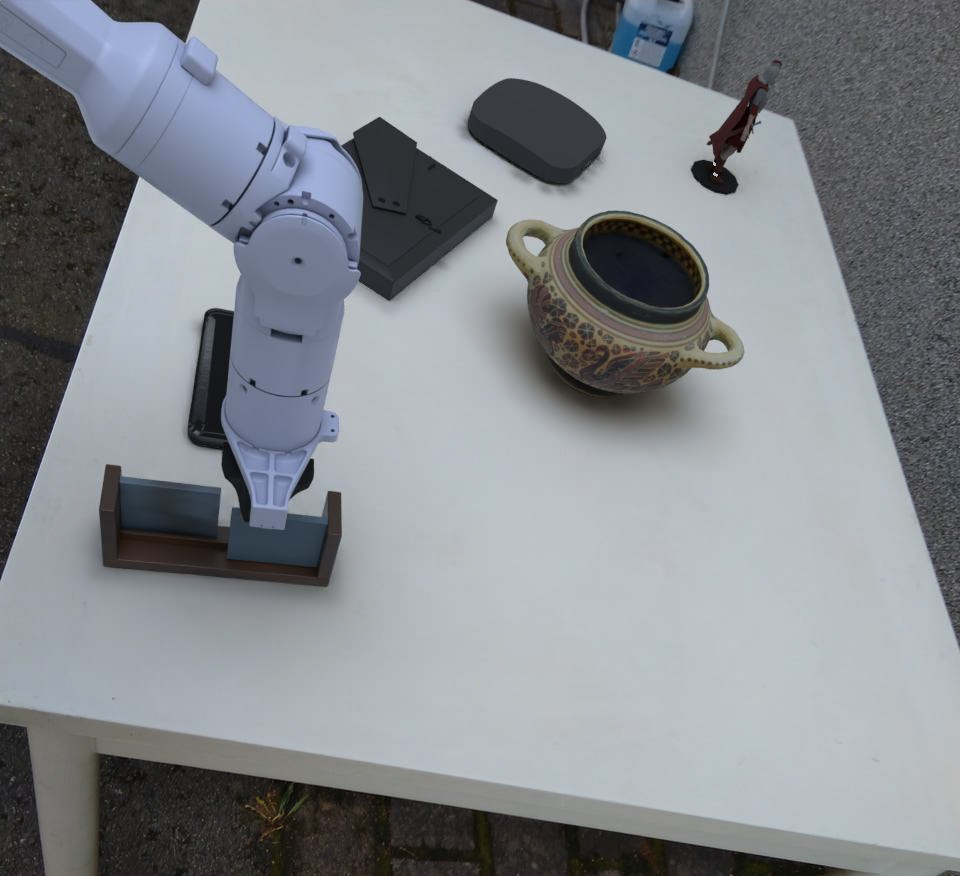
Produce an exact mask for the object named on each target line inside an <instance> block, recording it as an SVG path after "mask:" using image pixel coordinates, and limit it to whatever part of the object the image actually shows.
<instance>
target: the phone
mask: <svg viewBox="0 0 960 876" xmlns="http://www.w3.org/2000/svg"><path fill="white" fill-rule="evenodd" d="M233 318H234V310H230V309H226V308H220V307H219V308H218V307H212V308H209V309H207V310H206V311H205V312H204V314H203V320H202V326H201V327H202V328H201V335H200V340H199V347H198V352H197V353H198V355H197V360H196V368H195V373H194V381H193V387H192V392H191V393H192V394H191V401H190V407H189V414H188V421H187V437H188V438H189V440H190V442H192V443H193V444H195V445H196V446H197V445H198V446H200V447H201V446H202V447H208V448H215V449H221V450H223V442H229V441H228V439H227V437H226V434H225V432H224V429H223V426H222V422H221V410H222V404H223V401H224V399H225V397H226V394H227V383H228V372H229V360H230V351H231V340H232V329H233Z"/></svg>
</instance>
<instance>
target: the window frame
mask: <svg viewBox="0 0 960 876" xmlns="http://www.w3.org/2000/svg"><path fill="white" fill-rule="evenodd" d="M122 471H123V470H122V466H121V465H117V464H108V463H106V464H105V466H104V475H103V479H102V486H101V493H100V499H99V506H98V516H99V517H98V519H99V530H100V543H101V554H102V555H101V557H102V566H103V567H106V568H107V567H108V568H118V569H119V568H120V569H128V570H129V569H130V570H138V571H139V570H142V571H150V572H151V571H152V572H164V573H173V574H185V575H197V576H208V577H216V578H217V577H218V578H229V579H238V580H239V579H240V580H249V581H250V580H252V581H262V582H274V583H284V584H285V583H286V584H296V585H307V586H316V587H317V586H318V587H319V586H320V587H328V586H329V584H330V580H331V577H332V574H333V569H334V567H335V562H336V559H337V555H338V551H339V548H340V544H341V540H342V536H343V520H342V518H343V517H342V516H343V514H342V513H343V512H342V492H341V491H334V490H327V493H326V496H325V501H324V505H323V509H322V513H321V517H326V518H328V525H327V529H326V533H325V537H324V541H323V545H322V549H321V553H320V557H319V561H318V565H317V567H307V566H296V565H286V564H275V563H265V562H254V561H244V560H234V559H227V548H228V539H229V529H230V526H225V525H224V526H223V525H219V517H220V506H221V505H220V504H221V493H222V488H221V487H219V486H218V487H217V486H211V485H210V486H209V485H201V484H192V483H184V482H175V481H167V480H159V479H151V478H150V479H149V478H143V477H142V478H141V477H133V476H132V477H131V476H123V474H122V473H123V472H122Z"/></svg>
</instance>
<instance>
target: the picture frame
mask: <svg viewBox="0 0 960 876" xmlns="http://www.w3.org/2000/svg"><path fill="white" fill-rule="evenodd" d="M352 136H353V138H351V139H350V140H348V141H346V142H344V143H343V144H340V145H341V147H342V148H343V149H344V150H345V151H346V152H347V153H348V154H349V155H350V156H351V158H352V159H353V161H354V162H355V164H356V166H357V168H358V170H359V173H360V176H361V181H362V190H363V212H362V227H361V241H360V256H359V264H358V268H357V270H359V271H360V273H361V275H360V278H359V281H358V282H360V283H362V284H364V285H365V286H366V287H368V288H370V289H371V290H373V291H374V292H376V293H377V294H378V295H380V296H381V297H383V298H385V299H386V300H387V301H391V300H392V299H393V298H394V297H396V296H397V295H398V294H399V293H400V292H402V291H403V290H404V289H405V288H407V287H408V286H410V284H412V283H413V282H414V281H415V280H417V278H420V276H421V275H423V274H424V273H425V272H427V271H428V270H429V269H430V268H431V267H433V266H434V265H435V264H436V263H437V262H439V261H440V260H441V259H443V257H445V256H446V255H447V254H448V253H450V252H451V251H452V250H454V249H455V248H456V247H457V246H459V244H461V243H462V242H463V241H465V240H466V239H467V238H468V237H470V235H472V234H473V233H474V232H476V231H477V230H478V229H479V228H481V227H482V226H483V225H485V224H486V223H487V222H488V221H489V220H490V219H492V218H493V216H494V213H495V210H496V207H497V205H498V201H499V200H498V199H497V198H496V197H494V196H492V195H491V194H489V193H488V192H486V191H484V190H483V189H482V188H480V187H478V186H477V185H475V184H473V183H472V182H470V181H469V180H468V179H466V178H464V177H463V176H461V175H460V174H458V173H457V172H456V171H454V170H452V169H450V168H449V167H447V166H446V165H444V164H443V163H441V162H440V161H438V160H436V159H435V158H434V157H432V156H430V155H429V154H427V153H426V152H424V151H422V150H421V149H419V148H418V142H417V141H416V140H414V139H413V138H411V137H410V136H409V135H407V134H406V133H405V132H403V131H402V130H400V129H399V128H397V127H396V126H394V125H392V124H391V123H390V122H388V121H387V120H385V118H382V117H381V116H378V117H376V118H375V119H373V120H371V121H370V122H368V123H366V124H364V125H362V126H361V127H360V128H357V129H356V130H355V131H353V132H352Z"/></svg>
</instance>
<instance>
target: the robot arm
mask: <svg viewBox="0 0 960 876" xmlns="http://www.w3.org/2000/svg"><path fill="white" fill-rule="evenodd" d="M0 48H1V49H3V51H6V52H7V53H9V54H10V55H12V56H13V57H15V58H17V59H18V60H19V61H21V62H23V63H24V64H25V65H27V66H29V67H30V68H31V69H33V70H35V71H36V72H38V73H39V74H41V75H42V76H43V77H45V78H47V79H48V80H50V81H51V82H53V83H54V84H55V85H57V86H59V87H61V88H62V89H63V90H65V91H67V93H70V94H71V95H72V96H73V97H74V99H75V101H76V103H77V105H78V107H79V110H80V112H81V115H82V117H83V121H84V123H85V126H86V129H87V132H88V135H89V137H90V139H91V141H92V143H93V144H94V145H95V146H96V147H97V148H99V149H100V150H102V151H103V152H105V153H106V154H107V155H109V156H110V157H111V158H113V159H114V160H116V161H117V162H118V163H120V164H121V165H123V166H124V167H125V168H127V169H128V170H130V171H131V172H132V173H133V174H135V175H137V176H138V177H140V178H141V179H142V180H144V181H145V182H146V183H147V184H149V185H150V186H152V187H153V188H155V189H156V190H158V191H159V192H160V193H161V194H163V195H165V196H166V197H167V198H169V199H170V200H171V201H173V202H174V203H175V204H177V205H178V206H180V207H181V208H183V209H184V210H185V211H186V212H188V213H190V214H191V215H192V216H194V217H195V218H196V219H198V220H199V221H201V222H202V223H204V224H205V225H206V226H208V227H209V228H210V229H212V230H213V231H215V232H216V233H217V234H219V235H220V236H221V237H223V238H224V239H226V240H228V241H229V242H231V243H232V244H233V255H234V261H235V265H236V266H237V269H238V271H239V273H240V275H239V278H238V280H237V283H236V286H235V287H236V288H235V298H234V307H233V311H234V318H233V329H232V340H231V351H230V360H229V372H228V383H227V394H226V397H225V399H224V401H223V404H222V410H221V422H222V426H223V429H224V432H225V434H226V437H227V439H228V441H229V442H223V449H221V450H222V451H221V452H222V453H221V471H222V474H223V477H224V479H225V480H226V481H228V483H229V484H231V486H232V487H233V489H234V490H235V492H236V493H235V494H236V495H237V500H238V506H239V508H240V511H241V515H242V518H243V520H244V521H245V522H250V526H251V527H260V528H267V529H279V530H284V528H285V523H286V517H287V513H288V512H289V502H290V501H291V500H292V498H294V497H295V496H296V495H297V494H300V493H301V492H303V491H305V490H308V489H309V488H310V487H311V485H312V483H313V481H314V478H315V458H312V456H313V454H314V452H315V450H316V449H317V447H318V445H319V444H321V443H335V442H337V440H338V437H339V434H340V418H339V415H338V414H337V413H336V412H334V411H331V410H325V405H326V400H327V395H328V390H329V386H330V381H331V376H332V374H333V368H334V363H335V358H336V354H337V349H338V345H339V341H340V340H339V339H340V335H341V331H342V325H343V321H344V317H345V309H346V308H345V299H346V298H347V297H349V296H350V295H351V293H353V291H354V290H355V288H356V287H357V285H358V284H359V282H360V281H359V278H360V275H361V273H360V271H359V270H357V268H358V264H359V256H360V241H361V227H362V212H363V190H362V181H361V176H360V173H359V170H358V168H357V166H356V164H355V162H354V161H353V159H352V158H351V156H350V155H349V154H348V153H347V152H346V151H345V150H344V149H343V148H342V147H341V145H342V144H341V143H340V142H339V140H338V138H337V137H336V136H335V135H333V134H330V133H329V132H327V131H324V130H322V129H318V128H316V127H311V126H304V125H303V126H302V125H293V124H288V123H285V122H283V121H282V120H281V119H279V118H278V117H277V116H272V115H271V114H270V113H269V112H267V111H266V110H265V109H264V108H263V107H261V106H260V105H259V103H257V102H255V100H253V99H252V98H251V97H249V96H248V94H246V93H245V92H244V91H243V90H242V89H240V87H237V85H235V84H234V83H233V82H232V81H230V80H229V79H228V78H227V77H226V76H224V75H223V74H222V73H221V72H220V71H219V70H218V69H217V65H218V61H219V58H218V57H219V56H218V55H217V53H215V52H214V51H213V50H212V49H211V48H209V46H207V45H206V44H204V42H202V41H201V40H200V39H199V38H198V37H196V36H191V37H190V38H189V39H188V40H187V42H186V43H185V42H184V41H183V40H182V39H180V38H179V37H178V36H177V35H175V34H174V33H173V31H171V30H170V29H169V28H167V27H166V26H165V25H164V24H162V23H160V22H154V21H139V22H138V21H136V22H135V21H133V22H130V21H129V22H128V21H127V22H125V21H124V22H123V21H117V20H114V19H112V18H111V16H109V15H108V14H107V13H106V12H105V11H104V10H103V9H101V8H100V7H99V6H98V5H97V4H96V3H95V2H94V1H92V0H0Z"/></svg>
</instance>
